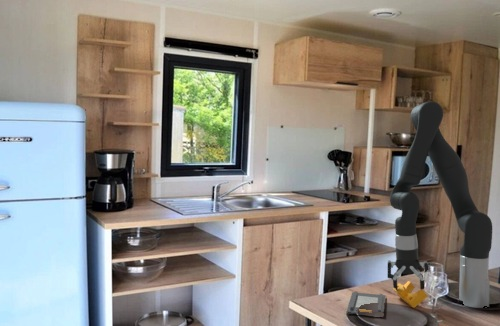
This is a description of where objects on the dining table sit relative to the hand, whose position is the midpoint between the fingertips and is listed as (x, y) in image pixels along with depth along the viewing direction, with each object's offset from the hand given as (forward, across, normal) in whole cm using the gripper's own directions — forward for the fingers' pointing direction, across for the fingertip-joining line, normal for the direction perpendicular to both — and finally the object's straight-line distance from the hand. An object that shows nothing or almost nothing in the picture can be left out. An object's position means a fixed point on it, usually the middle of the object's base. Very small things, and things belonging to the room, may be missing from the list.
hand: (408, 289), depth 169 cm
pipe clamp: (+2, +2, +2) cm, 4 cm away
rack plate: (+2, +14, +10) cm, 18 cm away
